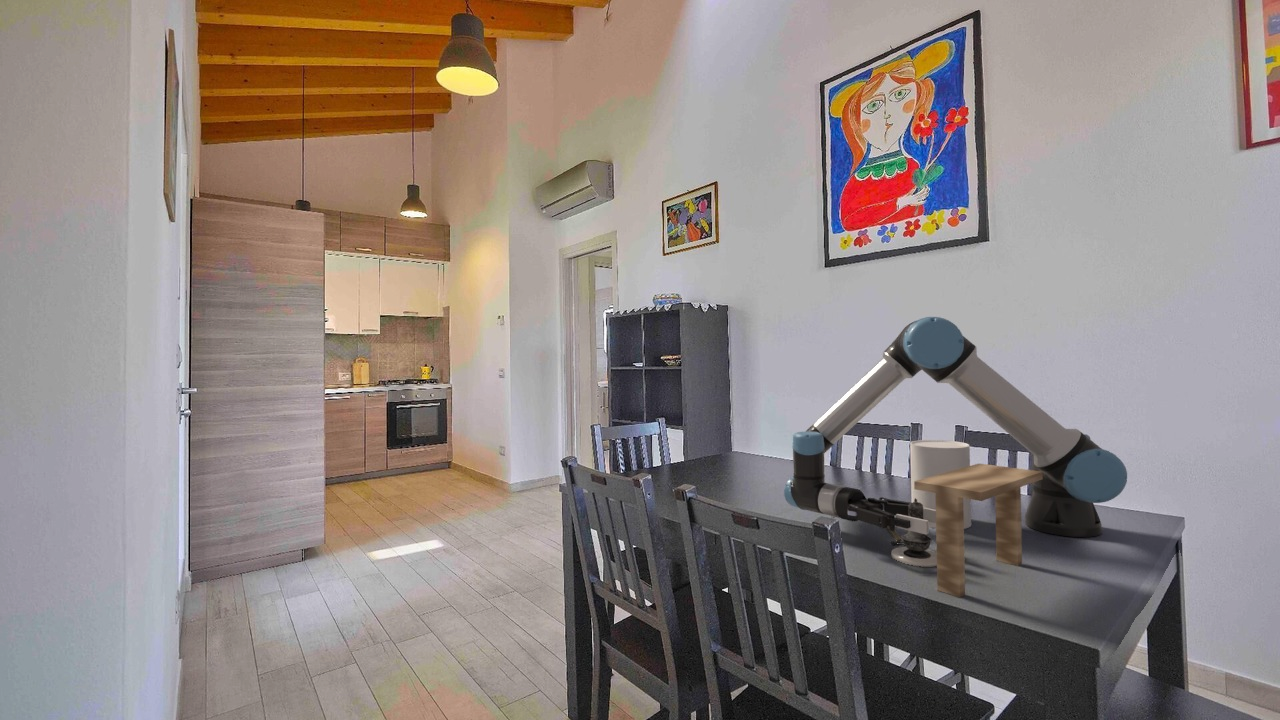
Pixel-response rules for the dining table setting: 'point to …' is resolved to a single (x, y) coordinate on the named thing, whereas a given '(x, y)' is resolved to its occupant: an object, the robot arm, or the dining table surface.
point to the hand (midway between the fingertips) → (938, 523)
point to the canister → (937, 469)
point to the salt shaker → (916, 535)
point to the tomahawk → (895, 538)
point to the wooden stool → (950, 515)
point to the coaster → (927, 562)
